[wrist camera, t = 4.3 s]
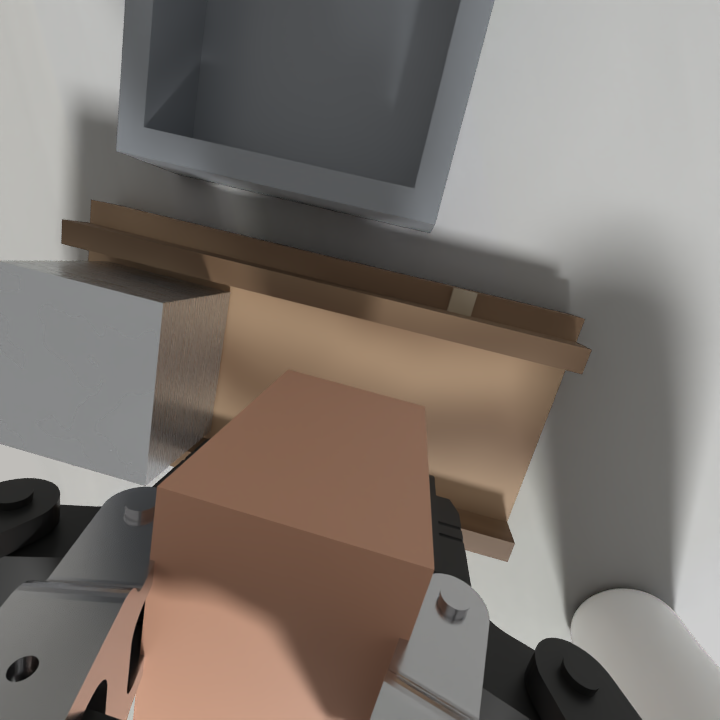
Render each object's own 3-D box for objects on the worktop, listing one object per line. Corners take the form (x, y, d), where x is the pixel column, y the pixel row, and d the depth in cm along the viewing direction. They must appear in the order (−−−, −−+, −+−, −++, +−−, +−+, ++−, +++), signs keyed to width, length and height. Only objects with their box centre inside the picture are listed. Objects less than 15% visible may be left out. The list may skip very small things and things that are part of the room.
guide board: (115, 204, 19) (63, 194, 16) (571, 314, 18) (601, 324, 15) (101, 426, 22) (55, 451, 19) (488, 535, 21) (500, 579, 18)
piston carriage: (107, 261, 18) (-3, 260, 13) (230, 292, 18) (163, 303, 13) (98, 400, 20) (0, 443, 15) (210, 431, 20) (144, 485, 15)
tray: (210, -155, 15) (143, -294, 12) (518, -101, 15) (556, -232, 11) (177, 174, 19) (116, 151, 15) (429, 232, 18) (434, 224, 14)
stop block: (288, 369, 11) (157, 486, 6) (425, 406, 11) (434, 569, 5) (260, 513, 13) (132, 726, 7) (381, 550, 12) (351, 802, 7)
